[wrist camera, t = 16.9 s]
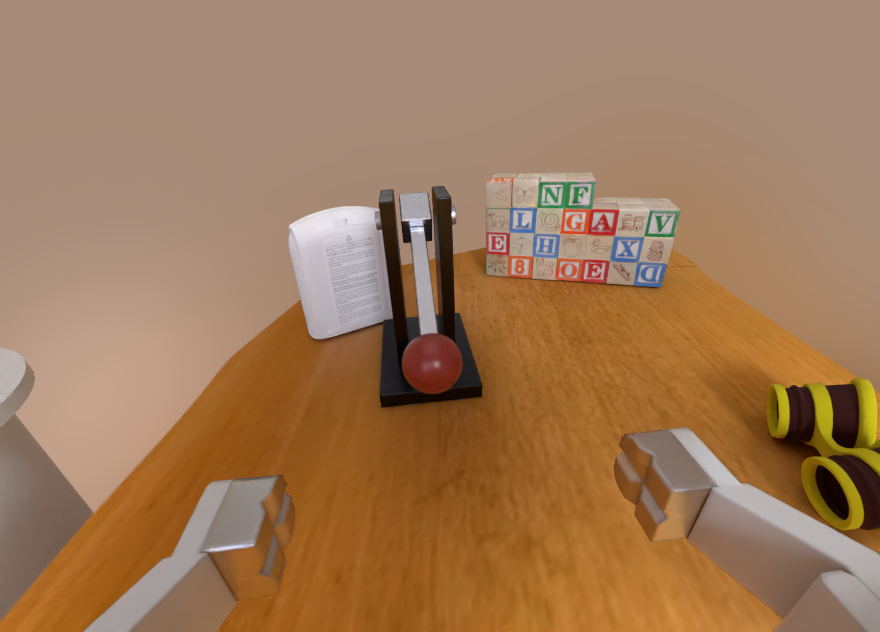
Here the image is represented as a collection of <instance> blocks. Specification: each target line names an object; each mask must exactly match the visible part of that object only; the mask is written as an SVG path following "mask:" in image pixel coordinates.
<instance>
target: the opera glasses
mask: <svg viewBox="0 0 880 632" xmlns="http://www.w3.org/2000/svg"><path fill="white" fill-rule="evenodd" d="M766 416H767V424H768V429H769V432H770V434H771V436H772V437H775V438H784V437H785V436H790V437H791V438H792V439H793V440H795V441H798V440H803V441H804V442H805V443H806V444H807V445H810V446H813V447H815V448H816V449H817V450H818V451H819V453H820V454H821V455H822V457H809V458H807V459H805V460H804V462H803V463H802V466H801V479H802V484H803V487H804V490H805V492H806V495H807V497H808V499H809V501H810V503H811V504H812V506H813V507H814V509H815V510H816V511H817V513H818V514H819V515H820V516H821V517H822V518H823V519H824V520H825V521H826V522H827V523H828V524H830V525H831V526H833V527H835V528H837V529H841V530H854V529H857V528H862V529H866V530H876V531H878V532H880V440H879V441H876V442H875V439H876V433H877V404H876V396H875V393H874V389H873V387H872V385H871V383H870V382H869V381H868V380H866V379H863V378H855V379H853V380H851V382H850V383H849V384H844V385H829V386H824V385H823V384H821V383H811V384H804V385H803V386H802V387H797V386H796V385H792V386H791V387H789V388H784V387H783V386H782V385H780V384H771V385H770V386H769V388H768V392H767V399H766Z"/></svg>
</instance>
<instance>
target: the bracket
mask: <svg viewBox="0 0 880 632" xmlns="http://www.w3.org/2000/svg"><path fill="white" fill-rule="evenodd" d="M393 192H394V191H393V189H390V190H381V192H380V198H379V210H380V211H375V223H376V229H377V230H382V235H383V243H384V251H385V259H386V267H387V275H388V283H389V291H390V299H391V307H392V315H393V319H386V320H383V339H382V358H381V377H380V402H381V407H389V406H399V405H408V404H417V403H426V402H436V401H445V400H454V399H463V398H472V397H481V396H482V382H481V379H480V376H479V373H478V370H477V367H476V363H475V360H474V357H473V354H472V351H471V348H470V345H469V341H468V338H467V335H466V332H465V329H464V326H463V323H462V319H461V316H460V313H455V299H454V267H453V237H452V236H453V235H452V225H453V224H456V210H455V206H454V205H453V206H452V205H451V197H450V195H449V193H448V192H447V190H446V189H445V187H444V186H436V187H432V203H433V219H434V238H435V255H436V275H437V293H438V311H439V315H436V321H437V328H438V334H442V335H444V336H447V337H448V338H450V339H451V340H452V341H453V342H454V343H455V344H456V345H457V347H458V348H459V350H460V353H461V356H462V371H461V374H460V376H459V378H458V380H457V381H456V383H455V384H454V385H453V386H452V387H451V388H449V389H448V390H446V391H444V392H441V393H436V394H427V393H423V392H420V391H418V390H416V389H415V388H413V387H412V386H411V385H410V384H409V382H408V381H407V380H406V378H405V376H404V373H403V370H402V357H403V354H404V351H405V349H406V347H407V346H408V344H409V343H410V342H411V341H412V340H413V339H415V338H416V337H418V336H420V330H419V320H418V317H408V318H407V317H406V307H405V297H404V288H403V278H402V268H401V259H400V249H399V240H398V230H397V220H396V210H395V201H394V193H393Z"/></svg>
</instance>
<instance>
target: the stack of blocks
mask: <svg viewBox="0 0 880 632" xmlns="http://www.w3.org/2000/svg"><path fill="white" fill-rule="evenodd" d="M595 185H596V181H595V178H594V177H593V173H529V174H528V173H525V174H523V173H522V174H495V175H494V176H493V177H492V178H491V179H490V180H489V181H488V182H487V207H486V253H487V254H486V275H493V276H509V277H517V278H533V279H545V280H567V281H582V282H595V283H608V284H622V285H635V286H648V287H661V285H662V282H663V278H664V275H665V271H666V267H667V263H668V260H669V257H670V253H671V249H672V245H673V241H674V235H675V231H676V227H677V223H678V219H679V215H680V210H679V209H678V207H677V206H676V205H675V204H673V203H672V202H671V201H670V200H669V199H659V198H643V199H641V198H594V193H595Z"/></svg>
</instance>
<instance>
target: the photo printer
mask: <svg viewBox="0 0 880 632" xmlns="http://www.w3.org/2000/svg"><path fill="white" fill-rule="evenodd" d="M375 211H380V210H379V209H375V208H371V207H363V206H346V207H337V208H331V209H327V210H323V211H320V212H316V213H313V214H311V215H308V216H306V217H304V218H302V219H300V220H298V221H296V222H294V223H292V224H291V225H289V226H288V232H289V240H288V246H289V252H290V256H291V260H292V264H293V268H294V272H295V277H296V281H297V285H298V290H299V294H300V298H301V302H302V306H303V311H304V315H305V319H306V323H307V327H308V331H309V334H310V336H311V337H313V338H315V339H325V338H330V337H334V336H337V335H340V334H344V333H347V332H350V331H354V330H357V329H360V328H363V327H367V326H370V325H373V324H376V323H380V322H383V320H386V319H392V318H393V315H392V307H391V299H390V291H389V283H388V275H387V267H386V259H385V251H384V243H383V235H382V230H377V229H376V223H375Z"/></svg>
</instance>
